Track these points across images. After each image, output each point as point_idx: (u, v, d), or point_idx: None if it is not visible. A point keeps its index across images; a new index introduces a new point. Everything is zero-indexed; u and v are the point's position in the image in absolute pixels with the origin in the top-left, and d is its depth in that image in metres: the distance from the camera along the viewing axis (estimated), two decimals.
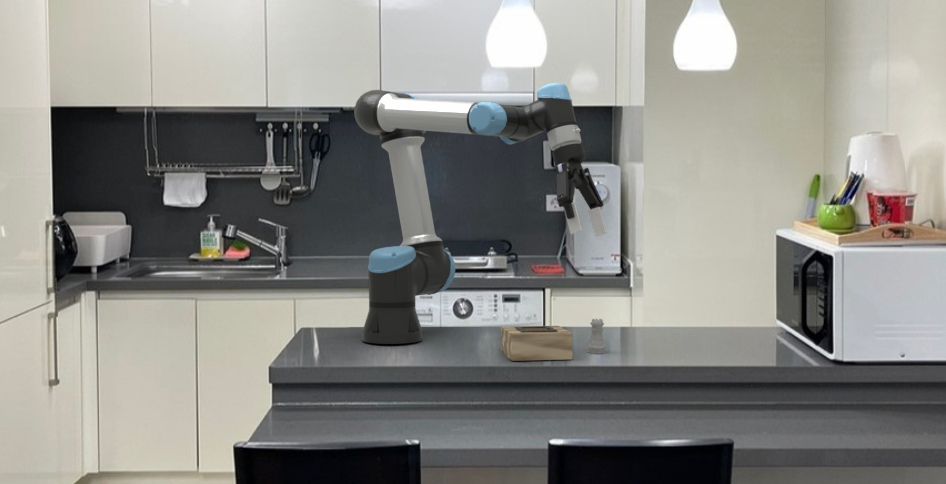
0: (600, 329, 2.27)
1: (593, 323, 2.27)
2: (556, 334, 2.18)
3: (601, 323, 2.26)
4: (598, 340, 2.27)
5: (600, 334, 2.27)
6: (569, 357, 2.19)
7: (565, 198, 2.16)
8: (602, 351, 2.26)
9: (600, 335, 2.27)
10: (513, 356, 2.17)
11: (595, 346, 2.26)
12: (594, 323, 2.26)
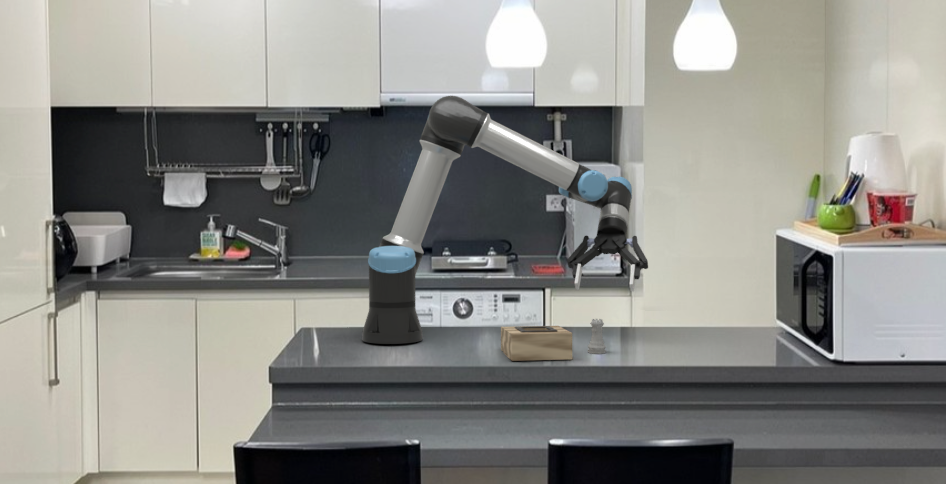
0: (600, 329, 2.27)
1: (593, 323, 2.27)
2: (556, 334, 2.18)
3: (601, 323, 2.26)
4: (598, 340, 2.27)
5: (600, 334, 2.27)
6: (569, 357, 2.19)
7: (647, 267, 2.40)
8: (602, 351, 2.26)
9: (600, 335, 2.27)
10: (513, 356, 2.17)
11: (595, 346, 2.26)
12: (594, 323, 2.26)
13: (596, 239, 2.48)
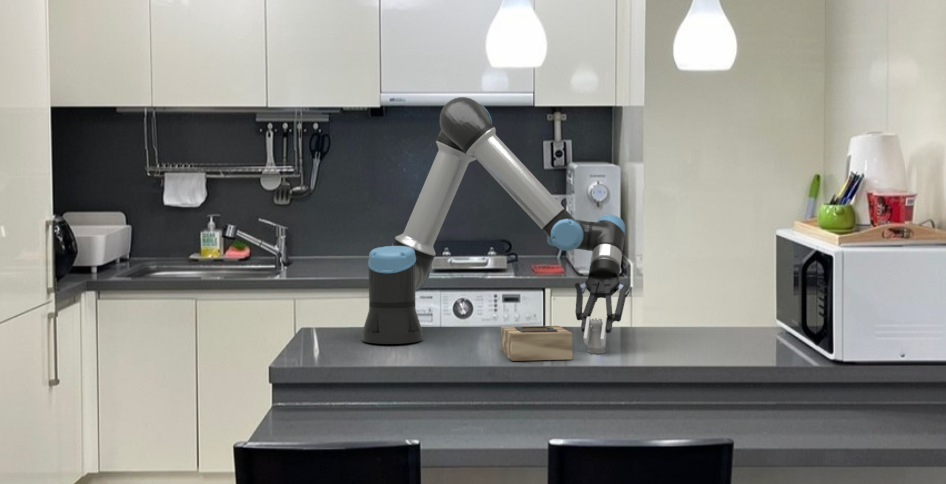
0: (600, 329, 2.27)
1: (592, 323, 2.27)
2: (556, 334, 2.18)
3: (600, 323, 2.26)
4: (597, 340, 2.27)
5: (600, 334, 2.27)
6: (569, 357, 2.19)
7: (619, 320, 2.28)
8: (602, 351, 2.26)
9: (600, 335, 2.27)
10: (513, 356, 2.17)
11: (595, 345, 2.26)
12: (593, 323, 2.26)
13: (588, 282, 2.36)
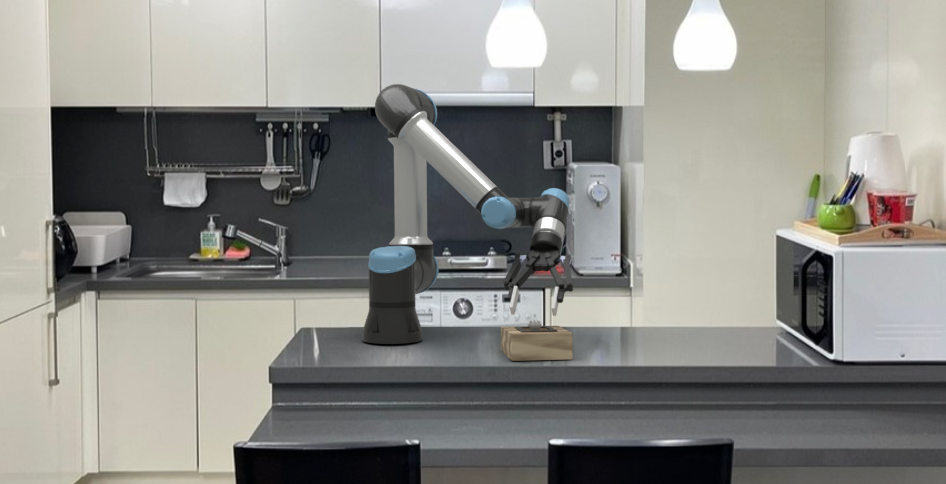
0: None
1: (530, 325, 2.23)
2: (556, 334, 2.18)
3: (538, 325, 2.23)
4: None
5: None
6: (569, 357, 2.19)
7: (572, 290, 2.25)
8: None
9: None
10: (513, 356, 2.17)
11: None
12: (531, 325, 2.23)
13: (528, 255, 2.33)
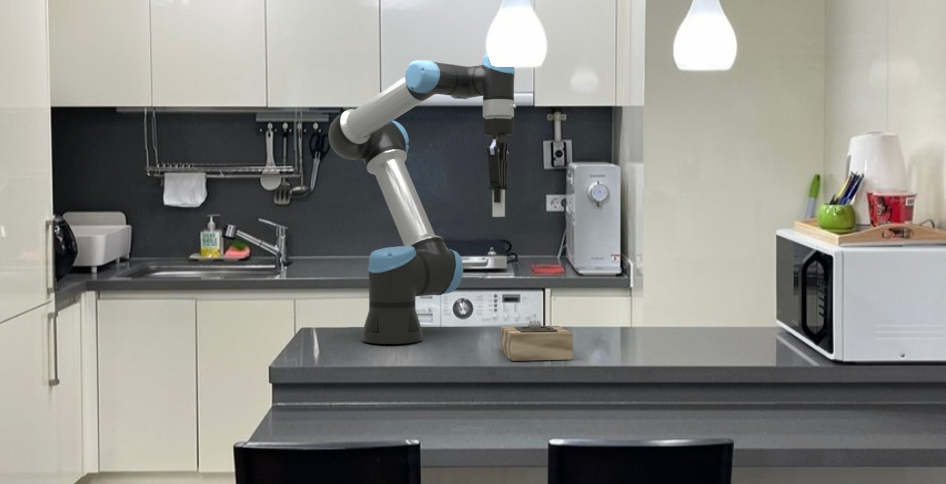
0: None
1: (530, 325, 2.23)
2: (556, 334, 2.18)
3: (538, 325, 2.23)
4: None
5: None
6: (569, 357, 2.19)
7: (498, 186, 2.29)
8: None
9: None
10: (513, 356, 2.17)
11: None
12: (531, 325, 2.23)
13: None
